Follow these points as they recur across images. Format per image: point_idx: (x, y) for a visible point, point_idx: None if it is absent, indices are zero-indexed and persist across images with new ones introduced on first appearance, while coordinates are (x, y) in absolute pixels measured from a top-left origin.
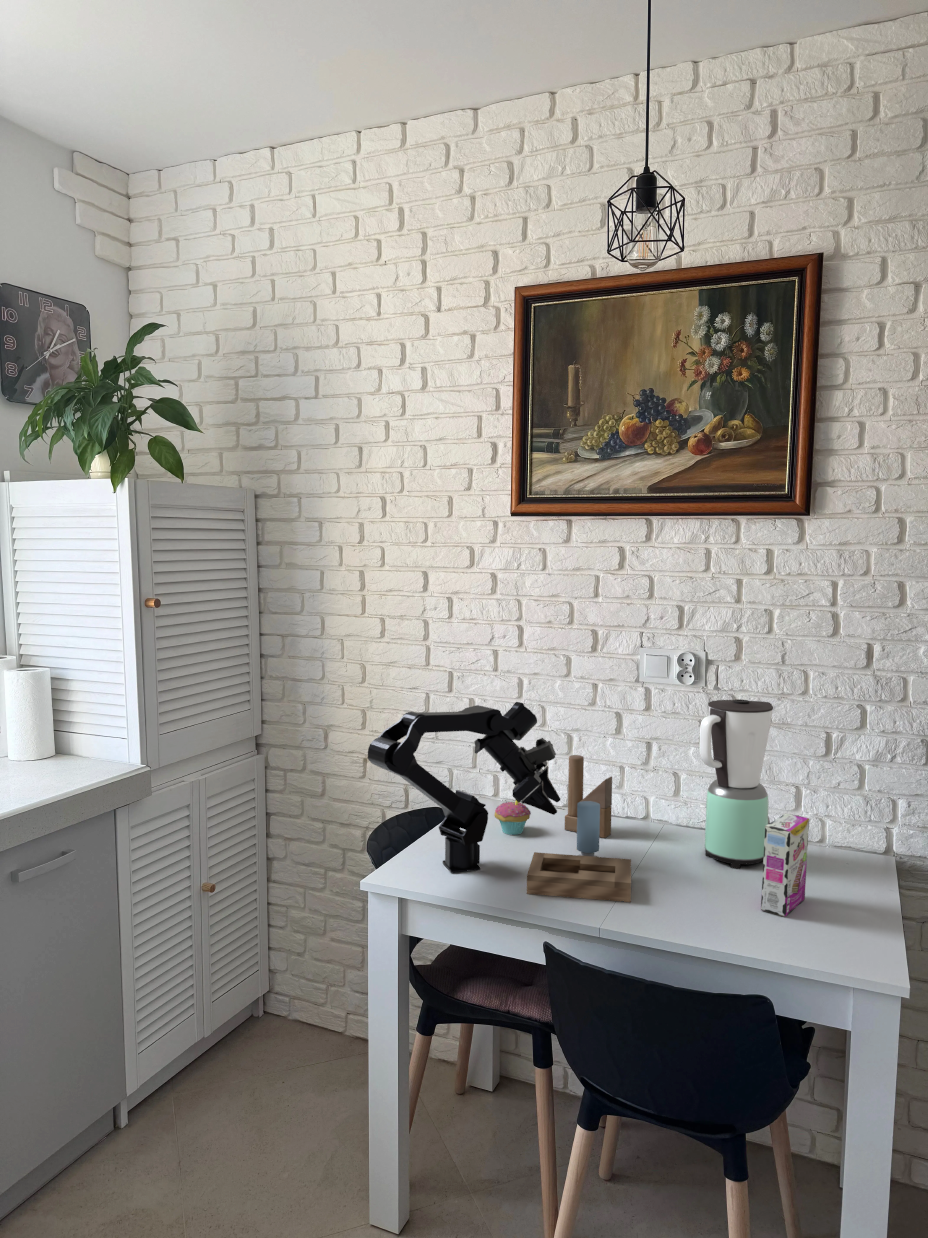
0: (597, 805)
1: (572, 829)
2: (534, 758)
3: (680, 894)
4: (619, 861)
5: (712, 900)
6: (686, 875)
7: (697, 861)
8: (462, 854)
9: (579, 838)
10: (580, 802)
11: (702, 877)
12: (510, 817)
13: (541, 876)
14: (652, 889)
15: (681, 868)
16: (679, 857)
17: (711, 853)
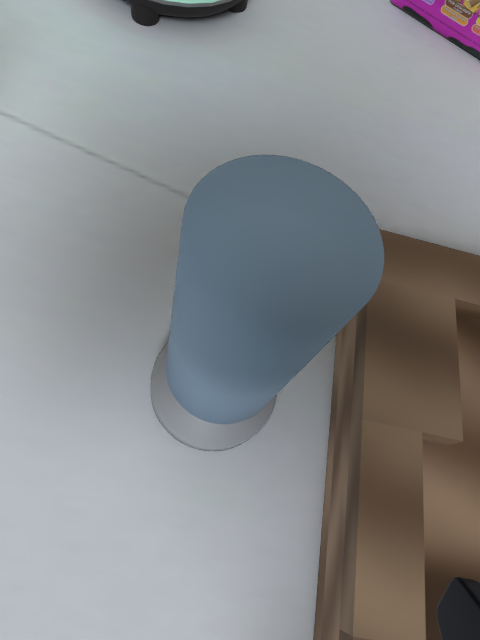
0: (311, 177)
1: None
2: None
3: (442, 176)
4: (402, 272)
5: (460, 126)
6: (302, 119)
7: (187, 57)
8: None
9: (270, 398)
10: (229, 289)
11: (313, 91)
12: None
13: None
14: (425, 231)
15: (247, 111)
16: (150, 84)
17: (203, 5)
